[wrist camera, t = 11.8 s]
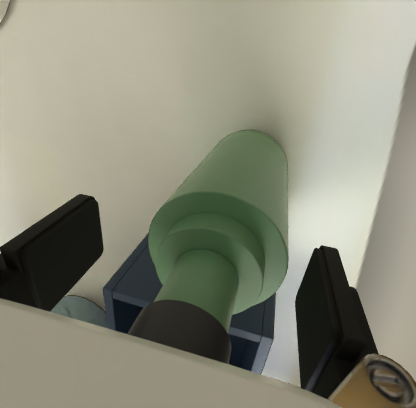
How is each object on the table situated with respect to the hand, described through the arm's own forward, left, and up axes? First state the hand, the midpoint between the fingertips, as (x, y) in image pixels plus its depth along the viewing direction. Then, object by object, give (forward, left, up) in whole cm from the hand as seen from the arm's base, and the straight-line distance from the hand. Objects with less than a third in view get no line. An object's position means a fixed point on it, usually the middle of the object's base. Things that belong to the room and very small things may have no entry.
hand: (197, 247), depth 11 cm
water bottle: (0, +1, -12) cm, 12 cm away
